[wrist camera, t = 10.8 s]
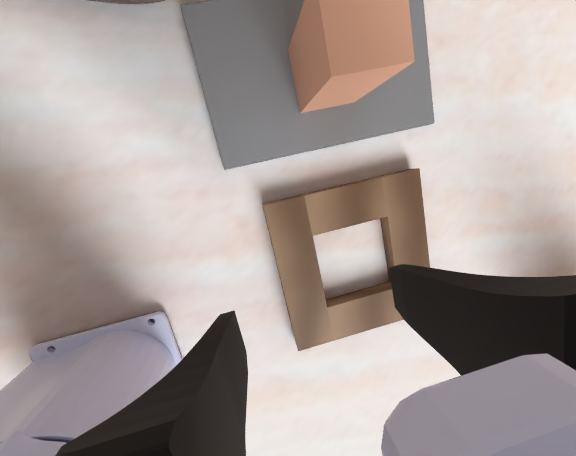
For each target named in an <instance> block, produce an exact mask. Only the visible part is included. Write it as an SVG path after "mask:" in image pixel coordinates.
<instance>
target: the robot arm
mask: <svg viewBox="0 0 576 456" xmlns="http://www.w3.org/2000/svg"><path fill="white" fill-rule="evenodd" d="M389 271H390V278H391V285H392V292H393V299H394V306H395V308H396V310H397V311H398V312H399V314H400V315H401V316H402V317H403V319H404V320H405V321H406V322H407V323H408V324H409V325H410V326H411V327H412V328H413V329H414V330H415V331H416V332H417V333H418V334H419V335H420V336H421V337H422V338H423V339H424V340H425V341H426V342H428V343H429V344H430V345H431V346H432V347H433V348H434V349H435V350H436V351H437V352H438V353H439V354H440V355H441V356H443V357H444V358H445V359H446V360H447V361H448V362H449V363H450V364H451V365H452V366H453V367H454V368H455V369H456V370H457V371H458V372H459V374H460V375H461V376H459V377H456V378H453V379H450V380H447V381H444V382H441V383H438V384H435V385H432V386H429V387H426V388H423V389H420V390H419V391H417V392H415V393H414V394H412V395H410V396H408V397H407V398H405V399H403V400H402V401H400V402H399V403H398V405H397V406H396V408H395V409H394V410H393V412H392V413H391V415H390V416H389V417H388V419H387V420H386V422H385V424H384V430H383V438H382V446H381V449H382V455H383V456H576V275H574V276H557V277H502V276H487V275H476V274H468V273H460V272H453V271H447V270H441V269H435V268H429V267H423V266H416V265H409V264H400V265H397V266H393V267H389ZM150 319H154V320H155V322H151V321H150ZM51 346H53V347H55V349H53V348H52V347H51ZM29 356H30V358H31V360H32V363H31V364H30V365H29V366H28V367H27V368H26V369H24V370H23V371H22V372H21V373H20V374H19V375H18V376H16V377H15V378H14V379H13V380H12V381H11V382H10V383H8V384H7V385H6V386H5V387H4V388H3V389H2V390H0V456H246V447H245V423H246V403H247V383H248V367H247V355H246V349H245V345H244V342H243V339H242V335H241V332H240V328H239V325H238V322H237V318H236V315H235V311H231V312H227V313H224V314H220V315H219V316H218V318H217V319H216V320H215V321H214V323H213V324H212V325H211V326H210V328H209V329H208V330H207V332H206V333H205V334H204V335H203V337H202V338H201V339H200V340H199V341H198V343H197V344H196V345H195V346H194V347H193V348H192V349H191V350H190V352H189V353H188V354H187V355H186V356H185V357H184V358H183V359H182V358H181V355H180V352H179V349H178V347H177V344H176V341H175V338H174V335H173V333H172V330H171V327H170V324H169V321H168V319H167V316H166V314H165V313H164V312H161V311H160V312H155V313H151V314H147V315H143V316H140V317H136V318H132V319H129V320H125V321H121V322H118V323H114V324H110V325H106V326H103V327H99V328H95V329H92V330H88V331H84V332H81V333H77V334H73V335H69V336H66V337H62V338H58V339H55V340H51V341H47V342H43V343H40V344H36V345H34V346H33V347H32V348H31V349H30V350H29Z"/></svg>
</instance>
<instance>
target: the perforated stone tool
mask: <svg viewBox="0 0 576 456" xmlns="http://www.w3.org/2000/svg"><path fill="white" fill-rule="evenodd" d="M89 1H99V2H108V3H119V4H146V3H154V2H160V1H164V0H89Z"/></svg>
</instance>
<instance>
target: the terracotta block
mask: <svg viewBox="0 0 576 456" xmlns="http://www.w3.org/2000/svg"><path fill="white" fill-rule="evenodd" d="M288 53H289V58H290V63H291V68H292V74H293V79H294V84H295V89H296V94H297V100H298V105H299V110H300V113H304V112H309V111H314V110H319V109H324V108H329V107H334V106H339V105H344V104H349V103H354V102H356V101H357V100H359V99H360V98H362V97H363V96H364V95H366V94H367V93H369V92H370V91H372V90H373V89H375V88H376V87H378V86H379V85H381V84H382V83H384V82H385V81H387V80H388V79H390V78H391V77H393V76H394V75H395V74H397V73H398V72H400V71H401V70H403V69H404V68H406V67H407V66H409V65H410V64H412V63H413V62H415V59H414V49H413V38H412V28H411V18H410V8H409V0H304V3H303V6H302V9H301V12H300V15H299V18H298V21H297V24H296V27H295V30H294V33H293V36H292V39H291V42H290V45H289V48H288Z"/></svg>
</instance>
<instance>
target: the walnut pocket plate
mask: <svg viewBox="0 0 576 456" xmlns="http://www.w3.org/2000/svg"><path fill="white" fill-rule="evenodd" d="M262 205H263V209H264V213H265V217H266V221H267V226H268V230H269V234H270V238H271V242H272V246H273V250H274V254H275V259H276V263H277V267H278V271H279V275H280V279H281V283H282V287H283V292H284V296H285V300H286V304H287V308H288V312H289V316H290V320H291V325H292V329H293V333H294V337H295V341H296V345H297V348H298V351H301V350H304V349H307V348H311V347H314V346H317V345H321V344H324V343H327V342H330V341H334V340H337V339H340V338H344V337H347V336H350V335H354V334H357V333H360V332H364V331H367V330H370V329H374V328H377V327H380V326H384V325H387V324H390V323H393V322H397V321H400V320H403V317H402V316H401V315H400V314H399V312H398V311H397V310H396V308H395V306H394V299H393V292H392V285H391V278H390V271H389V267H393V266H397V265H400V264H409V265H416V266H423V267H429V268H430V264H429V254H428V245H427V235H426V226H425V217H424V207H423V198H422V188H421V179H420V170H419V169H407V170H403V171H399V172H395V173H391V174H386V175H382V176H378V177H374V178H370V179H365V180H361V181H357V182H353V183H349V184H344V185H340V186H336V187H332V188H328V189H323V190H319V191H315V192H311V193H307V194H302V195H298V196H294V197H290V198H286V199H281V200H277V201H273V202H269V203H265V204H262ZM380 218H381V225H382V232H383V239H384V246H385V253H386V260H387V267H388V274H389V281H390V282H387V283H384V284H380V285H377V286H373V287H370V288H366V289H363V290H359V291H356V292H352V293H349V294H345V295H342V296H338V297H335V298H331V299H328V300H326V299H325V295H324V290H323V285H322V280H321V275H320V270H319V265H318V260H317V256H316V251H315V246H314V241H313V235H317V234H321V233H325V232H329V231H333V230H337V229H341V228H345V227H348V226H352V225H356V224H360V223H364V222H368V221H372V220H376V219H380Z"/></svg>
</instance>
